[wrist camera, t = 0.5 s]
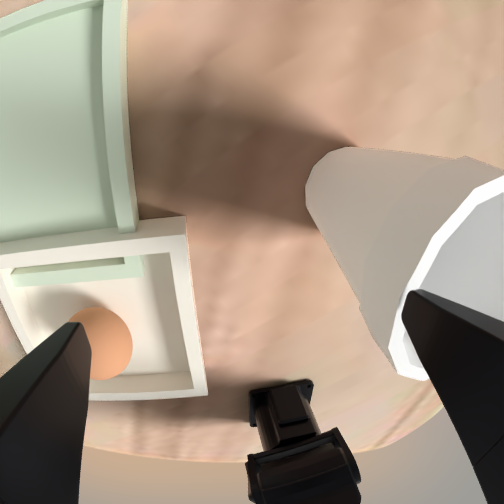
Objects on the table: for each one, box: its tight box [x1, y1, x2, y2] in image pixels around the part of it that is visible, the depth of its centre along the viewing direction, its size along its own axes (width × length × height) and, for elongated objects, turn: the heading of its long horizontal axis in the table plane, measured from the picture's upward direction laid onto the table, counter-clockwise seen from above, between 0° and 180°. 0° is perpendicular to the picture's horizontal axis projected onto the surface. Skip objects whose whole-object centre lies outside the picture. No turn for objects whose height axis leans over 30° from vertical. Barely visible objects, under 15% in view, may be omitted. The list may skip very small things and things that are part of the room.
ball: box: [68, 307, 133, 380], centre depth 19 cm, size 5×5×5 cm
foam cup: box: [305, 147, 504, 381], centre depth 16 cm, size 10×9×13 cm
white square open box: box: [0, 216, 208, 401], centre depth 21 cm, size 14×14×3 cm
